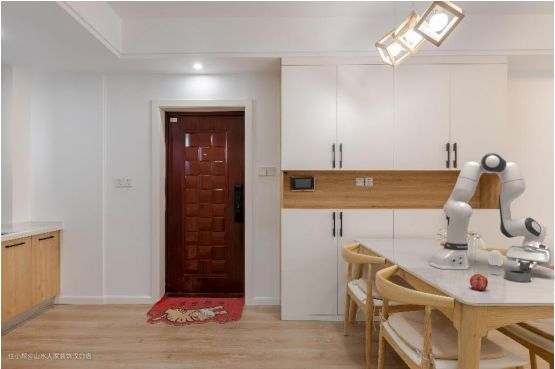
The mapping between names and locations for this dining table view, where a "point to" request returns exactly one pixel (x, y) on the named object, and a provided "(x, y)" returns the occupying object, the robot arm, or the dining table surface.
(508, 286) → the dining table surface
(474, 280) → the pomegranate
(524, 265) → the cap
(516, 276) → the grey round ashtray
